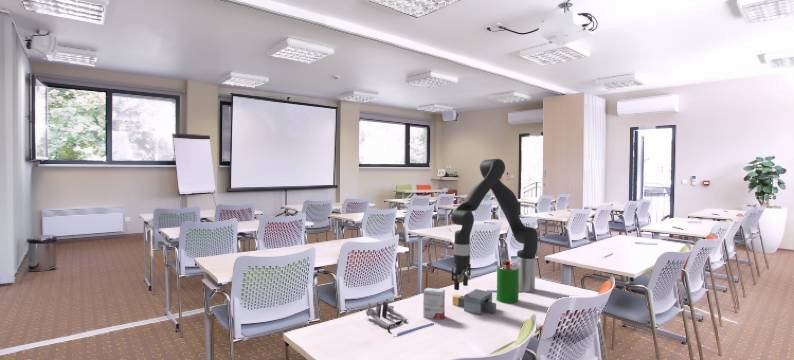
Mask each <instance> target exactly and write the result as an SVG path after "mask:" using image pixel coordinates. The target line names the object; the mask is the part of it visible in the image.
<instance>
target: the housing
mask: <svg viewBox="0 0 794 360" xmlns="http://www.w3.org/2000/svg"><path fill="white" fill-rule="evenodd" d="M463 296H464V307H463V312H467V313H471V314H474V315H479V316H482V315H483V314H484V301H488V302H492V303H493V292H492V291H486V290H482V289H478V288H476V289H474V290H472V291H470V292H468V293H466V294H464V295H463Z"/></svg>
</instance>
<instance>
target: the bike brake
mask: <svg viewBox="0 0 794 360" xmlns="http://www.w3.org/2000/svg"><path fill="white" fill-rule="evenodd" d="M388 303H389V298H387V297H386V298H385V301H384V300H383V303H382V305H381V304H380V303H379V302H376V306H375V309H374V308H373V307H371V304H372V303H371V302H368V305H367V309H365V313H366V317H369V316H371V317H372V318H373V319H374V320H375V322H376V323H378V325H380V326H382V327H384V328H385V329H387V331H388V333H389V334H390V333H391V334H390V335H393V333H392V332H391V331H390V328H394V327H395V326H397V325H401V324H402V323H404V324H406V323H408V322H407V321H408V320H409V319H408V318H406V317H405V316H404V315H402V314H400V313H399V312H397V311H395V310H394V309H395V307H394V305H389V304H388ZM387 313H389V314H390V315H393V316H395V317H398V318H399V319H400V320H398V321H396V322H390V323H388V324H387V323H385V322H383V321H382V320H381V316H382V317H383V318H385V319H386V318H387V315H388V314H387Z"/></svg>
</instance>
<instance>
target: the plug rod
mask: <svg viewBox="0 0 794 360" xmlns="http://www.w3.org/2000/svg"><path fill="white" fill-rule="evenodd" d="M452 305H453V306H457V307H460V308H464V295H460V294H455V295H453V296H452ZM484 313H485V314H489V315H494V314H496V313H497V303H495V302H493V301H492V302H488V301H484ZM484 313H483V314H484Z"/></svg>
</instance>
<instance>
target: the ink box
mask: <svg viewBox="0 0 794 360" xmlns="http://www.w3.org/2000/svg"><path fill="white" fill-rule="evenodd" d="M445 291H446V290H445V289H441V288H430V287H425V289H424V290H423V311H422V312H423V314H422V315H423V318H427V319H435V320H443V319H444V318H445V315H446V314H445V313H446V312H445V311H446V307H445V306H446V304H445V302H446V300H445V299H446V296H445V295H446V294H445V293H446V292H445Z"/></svg>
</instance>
